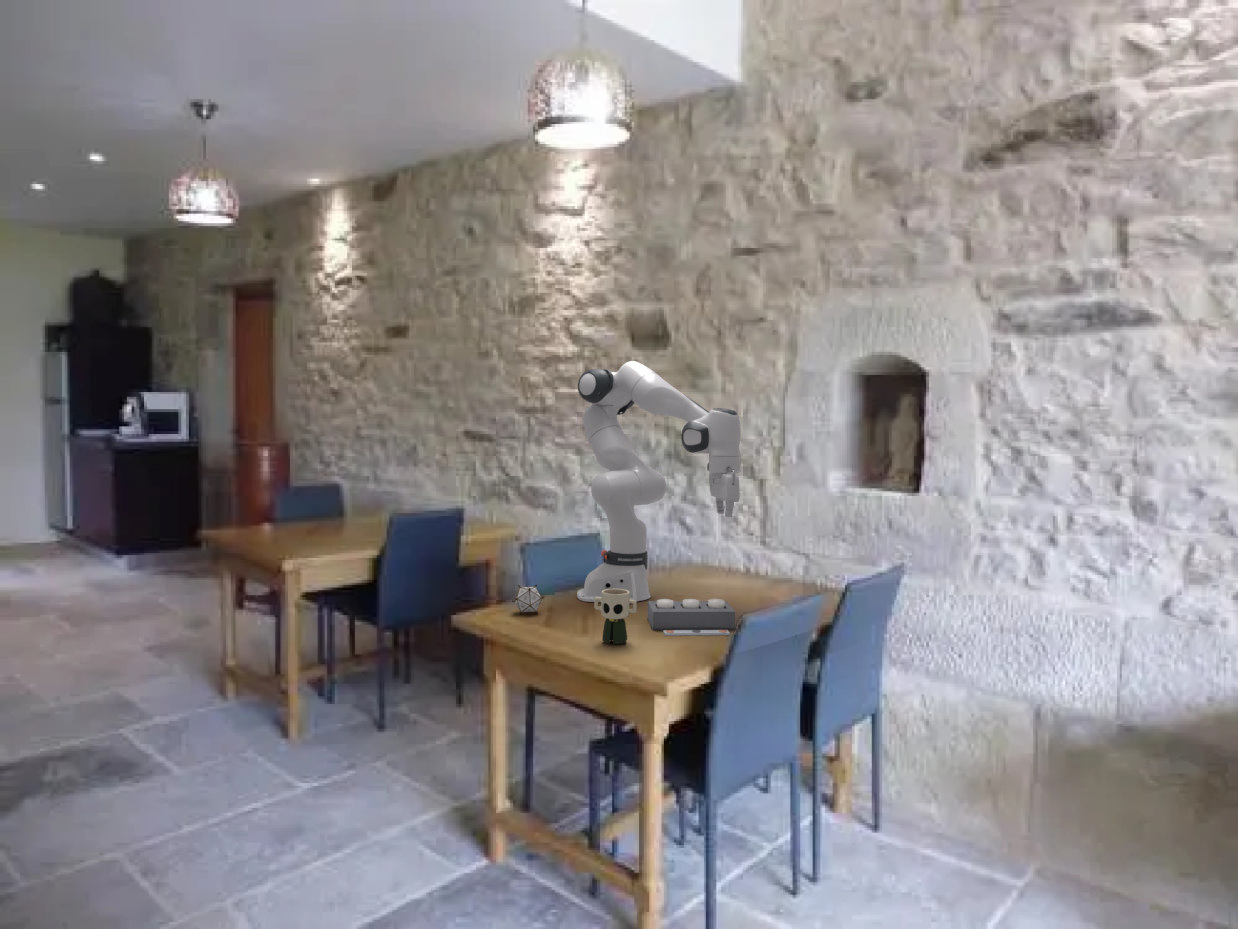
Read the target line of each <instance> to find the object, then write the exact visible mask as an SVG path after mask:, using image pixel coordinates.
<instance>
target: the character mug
mask: <svg viewBox="0 0 1238 929" xmlns="http://www.w3.org/2000/svg"><path fill="white" fill-rule="evenodd" d="M598 601H601V602H600V605H599V602H598ZM637 602H638V601H637ZM637 602H636V600H630V592H629V591H628V590H625V589H605V590H602V593H601V597H595V599H594V602H593V603H594V610H597V611H600V614H601V617H603V618H605V620H604V624H603V630H602V638H601V640H602V641H603V642H604V643H607V644H610V643H611V642H612V643H613V645H614V644H615V645H616V644H617V645H618V644H619V645H620V644H624V643H626V641H627V640H628V635H627V634H628V633H627V625H626V618H628V617H629V614H630V613H632V614H636V613H637V604H638V603H637ZM630 604H632V608H630Z"/></svg>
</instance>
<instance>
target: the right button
mask: <svg viewBox="0 0 1238 929" xmlns="http://www.w3.org/2000/svg"><path fill="white" fill-rule="evenodd" d="M707 601H708V608H724V603H725V601H726V600H724V599H721V598H710V599H708V600H707Z"/></svg>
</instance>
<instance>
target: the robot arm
mask: <svg viewBox="0 0 1238 929" xmlns="http://www.w3.org/2000/svg"><path fill="white" fill-rule="evenodd" d="M577 391H578V394H579V396H580V397H581V398H582V399H583V400H585V401H586V402H588V403H590V404H591V405H590V406H589V407H587V408H586V409H585V410H584V411H583V413H582V423H583V424H582V426H583V427H584V428H583V429H584V433H585V435H586V438H587V441H588V443H589V446H590V448H591V450H592V452H593V454H594V456H595V459H596V461H597V463H598V464H599V465H600V466H601V467H602V468H604V469H606V470H607V471H606V472H603V473H599V474H598V475H596V476H595V477H594V478H593V480H592V483H591V486H590V487H591V488H590V492H591V496H592V498H593V500H594V502H595V503H596V505H598V506H600V508H602V510H603V511H604V513H605V516H606V518H607V521H608V524H609V540H610V541H609V548H610V549H609V550H608V551H607V550H606V549H602V551H601V553H600V554H601V556H602V559H603V560H602V561H603V562H602V563H601V564H600V565H598V566H597V567H596V568H595V569H593V570H592V571H590V572H589V573H588V574H587V576H586V578H585V581H584V587H583V588H580V589H579V590H577V593H576V597H577V599H579V600H580V601H582V602H589V603H594V599H595V597H601V593H602V590H605V589H625V590H628V591H629V592H630V600H636V602H640V601H645V600H646V601H647V600H649V599H650V598H651V597H652V596H651V593H650V588H649V583H648V582H649V581H648V574H647V573H648V572H647V570H648V564H649V554H648V551H647V526H646V524H645V523H644V522H643V521H642V520H640V519H639V518H638V517H637V516H636V514H635V509H634V507H635V506H644V505H651V504H653V503H655V502H658V501H660V500H662V499H663V498H664V496H665V493H666V490H667V483H666V480H665V477H664V476H663V474H662V473H661V472H660V471H658V470H656V469H654V468H652V467H650V466H649V465H648V464H646V462H645V461H643V459H641V458H640V457H639V455H637V454H636V452H635V451H634V449H633V448H632V447H631V445H630V443H629V441H628V439H627V437H626V435H625V433H624V431H623V428H622V427H621V425H620V422H619V420H618V418H617V417H618V416H621V415H624V414H625V413H626V412H627V410H628V409H630V408H631V407H632V406H633V405H636V406H637V407H639V408H640V409H641V410H642V411H645V412H647V413H649V414H652V415H660V416H669V417H674V418H677V419H681V420H683V421H684V422H686V423H685V425H683V427H682V430H681V433H680V440H681V444H682V446H683V448H684V449H685V451H687V452H688V453H690V454H691V453H692V454H708V462H707V464H706V470H707V472H708V479H709V492H710V495H711V497H714V498H715V505H716V512H717V514H719V515H721V514H722V515H723V514H724V517H725V518H732V517H733V511H734V506H735V503H739V502H740V498H741V496H740V494H741V493H740V491H741V490H740V479H739V475H738V474H739V473H741V462H742V461H741V458H742V456H741V451H740V444H741V439H742V435H741V434H742V433H741V432H742V431H741V421H740V416H739V413H737V411H735V410H734V409H731V408H723V407H714V408H712V409H711V410H710V411H708V410H707V409H706V408H704V407H703V406H702V405H700V404H699V403H698V402H696V401H694V400H693V399H692V398H690V397H689V396H686V394H684V393H682V392H681V391H679V390H678V389H676V387H674V386H672V385H671V384H670V383H669V382H667V381H666V380H665V379H663V378H662V377H661V376H660V375H659V374H658V373H656V372H655V371H654V370H653V369H651V368H649V366H646V365H645V364H642V363H640V362H639V361H635V360H630V361H627V362H625V363H624V364H622V365H621V366H620V367H619V369H618V370H617V371H616V372H614V371H611V370H610V369H609V368H608V369H607V368H606V369H605V368H604V369H603V368H591V369H587V370H586V371H584V372H583V373H582V374H581V375H580V377H579V378H578V382H577ZM724 502H725V503H724ZM724 505H725V507H724ZM598 603H601V601H598Z"/></svg>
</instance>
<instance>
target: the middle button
mask: <svg viewBox="0 0 1238 929" xmlns="http://www.w3.org/2000/svg"><path fill="white" fill-rule="evenodd" d="M682 601H683V609H691V608H699V601H700V600H699V599H695V598H685V599H682Z"/></svg>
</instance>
